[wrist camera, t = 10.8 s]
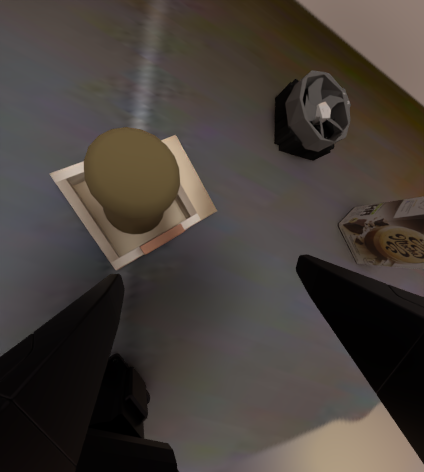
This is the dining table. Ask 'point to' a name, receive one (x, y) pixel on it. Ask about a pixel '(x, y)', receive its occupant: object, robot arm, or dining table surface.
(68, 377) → the robot arm
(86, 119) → the dining table surface
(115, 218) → the cork
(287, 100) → the cpu cooler
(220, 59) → the dining table surface
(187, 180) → the wooden box
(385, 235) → the coffee box
